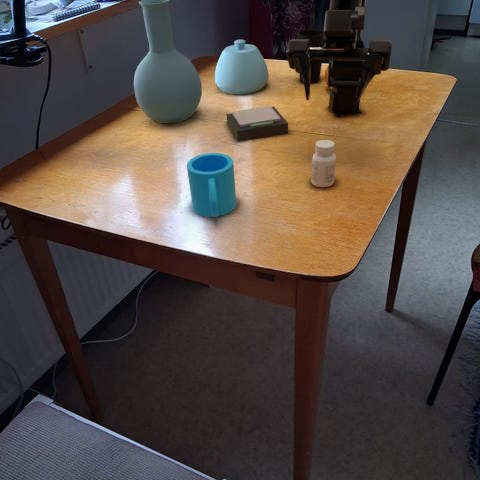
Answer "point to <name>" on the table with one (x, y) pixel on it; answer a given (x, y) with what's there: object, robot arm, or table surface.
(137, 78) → the vase
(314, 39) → the cup
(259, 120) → the scale
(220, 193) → the mug
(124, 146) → the table surface
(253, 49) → the sugar bowl
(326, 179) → the pill bottle
